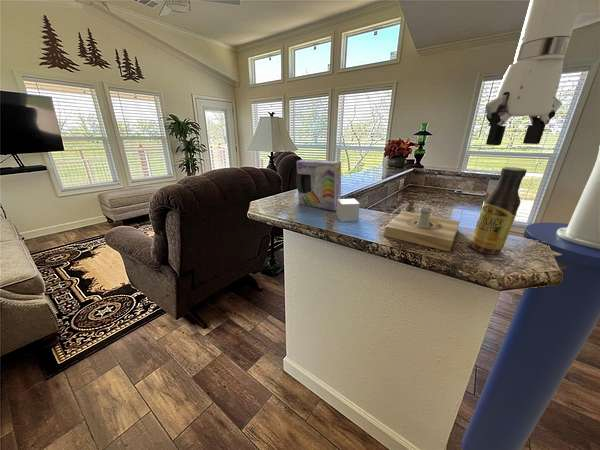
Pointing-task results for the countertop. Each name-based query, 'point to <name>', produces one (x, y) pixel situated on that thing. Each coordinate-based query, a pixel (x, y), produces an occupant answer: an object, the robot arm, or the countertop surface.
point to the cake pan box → (319, 183)
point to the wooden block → (423, 230)
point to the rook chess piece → (424, 216)
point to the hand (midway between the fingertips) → (511, 144)
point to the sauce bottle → (498, 212)
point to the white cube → (348, 209)
